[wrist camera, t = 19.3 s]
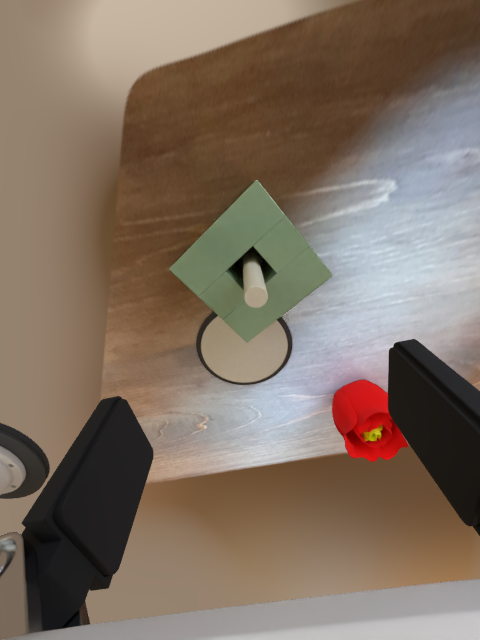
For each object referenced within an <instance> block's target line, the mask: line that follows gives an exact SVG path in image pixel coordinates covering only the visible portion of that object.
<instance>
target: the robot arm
mask: <svg viewBox="0 0 480 640" xmlns="http://www.w3.org/2000/svg"><path fill="white" fill-rule="evenodd" d="M388 411H389V414H390V416H391V418H392V420H393V421H394V423H395V424H396V425H397V427H398V428H399V430H400V431H401V433H402V434H403V436H404V437H405V439H406V440H407V441H408V443H409V444H410V446H411V447H412V449H413V450H414V452H415V453H416V454H417V456H418V457H419V459H420V460H421V462H422V463H423V464H424V466H425V467H426V469H427V470H428V472H429V473H430V475H431V476H432V478H433V479H434V481H435V482H436V483H437V485H438V486H439V488H440V489H441V491H442V492H443V494H444V495H445V496H446V498H447V499H448V501H449V502H450V504H451V505H452V507H453V508H454V509H455V511H456V512H457V514H458V515H459V517H460V518H461V519H462V521H463V522H464V523H465V524H466V525H468V526H473V527H474V529H475V530H476V531H477V533H478V534H479V536H480V391H479V390H477V389H476V388H475V387H474V386H473V385H471V384H470V383H469V382H468V381H466V380H465V379H464V378H462V377H461V376H460V375H459V374H457V373H456V372H455V371H454V370H452V369H451V368H450V367H449V366H448V365H446V364H445V363H444V362H443V361H441V360H440V359H439V358H438V357H437V356H435V355H434V354H433V353H432V352H430V351H429V350H428V349H427V348H426V347H424V346H423V345H422V344H421V343H419V342H418V341H417V340H415V339H412V340H407V341H401V342H396V343H395V344H394V347H393V348H390V350H389V375H388ZM152 460H153V449H152V447H151V445H150V443H149V441H148V439H147V437H146V435H145V434H144V432H143V430H142V428H141V426H140V424H139V422H138V421H137V419H136V417H135V415H134V413H133V411H132V409H131V407H130V406H129V404H128V402H127V401H126V400H125V399H122V398H121V397H119V396H117V397H112V398H107V399H103V400H101V401H100V403H99V404H98V406H97V408H96V409H95V410H94V412H93V414H92V415H91V417H90V418H89V420H88V421H87V423H86V424H85V426H84V427H83V429H82V431H81V432H80V434H79V435H78V437H77V438H76V440H75V441H74V443H73V444H72V446H71V447H70V449H69V451H68V452H67V454H66V455H65V457H64V458H63V460H62V462H61V463H60V465H59V466H58V468H57V469H56V471H55V472H54V474H53V476H52V477H51V478H50V480H49V481H48V483H47V485H46V486H45V488H44V489H43V491H42V492H41V494H40V496H39V497H38V498H37V500H36V502H35V503H34V505H33V506H32V508H31V509H30V511H29V513H28V514H27V516H26V517H25V519H24V520H23V522H22V524H23V525H24V526H25V527H26V528H25V530H24V531H23V533H22V535H21V534H19V533H17V532H11V533H7V534H4V535H2V536H0V640H480V579H472V580H462V581H450V582H441V583H432V584H424V585H415V586H406V587H397V588H388V589H380V590H370V591H361V592H353V593H344V594H335V595H326V596H318V597H309V598H301V599H292V600H284V601H276V602H267V603H259V604H251V605H243V606H235V607H225V608H218V609H209V610H201V611H193V612H184V613H176V614H168V615H161V616H152V617H144V618H137V619H129V620H120V621H112V622H104V623H96V624H90V623H89V617H88V613H87V608H86V603H85V599H86V596H87V593H88V591H89V589H90V590H99V589H106V588H109V586H110V582H111V579H112V576H113V574H115V573H116V572H117V570H118V569H119V566H120V563H121V560H122V557H123V554H124V550H125V547H126V544H127V541H128V538H129V534H130V531H131V528H132V525H133V522H134V518H135V515H136V512H137V509H138V505H139V502H140V499H141V496H142V493H143V489H144V486H145V483H146V480H147V476H148V473H149V470H150V467H151V464H152ZM25 477H26V470H25V467H24V465H23V463H22V462H21V461H20V459H19V458H18V457H17V456H16V455H14V454H13V453H12V452H10V451H9V450H7V449H5V448H4V447H2V446H0V495H1V494H5V493H9V492H12V491H14V490H16V489H17V488H18V487H19V486H20V485H21V484H22V482H23V481H24V480H25Z"/></svg>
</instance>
